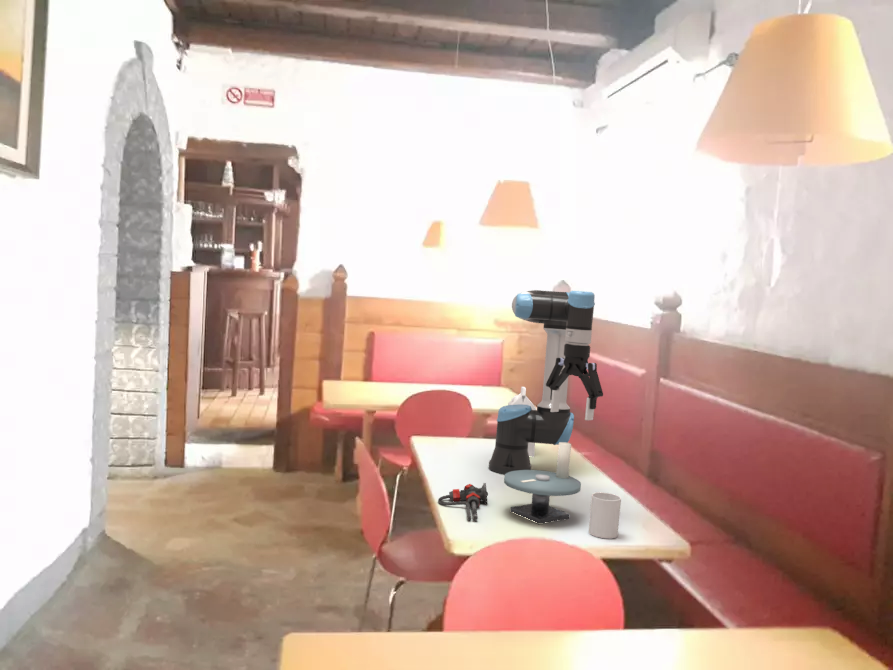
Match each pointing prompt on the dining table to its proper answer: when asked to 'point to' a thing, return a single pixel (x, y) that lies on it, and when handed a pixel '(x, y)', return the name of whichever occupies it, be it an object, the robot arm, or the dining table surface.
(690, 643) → the dining table surface
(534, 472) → the handwheel
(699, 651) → the dining table surface
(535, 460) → the dining table surface
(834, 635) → the dining table surface
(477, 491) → the dark grey forked tool
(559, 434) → the robot arm
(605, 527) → the mug
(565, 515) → the square pedestal base
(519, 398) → the milk
